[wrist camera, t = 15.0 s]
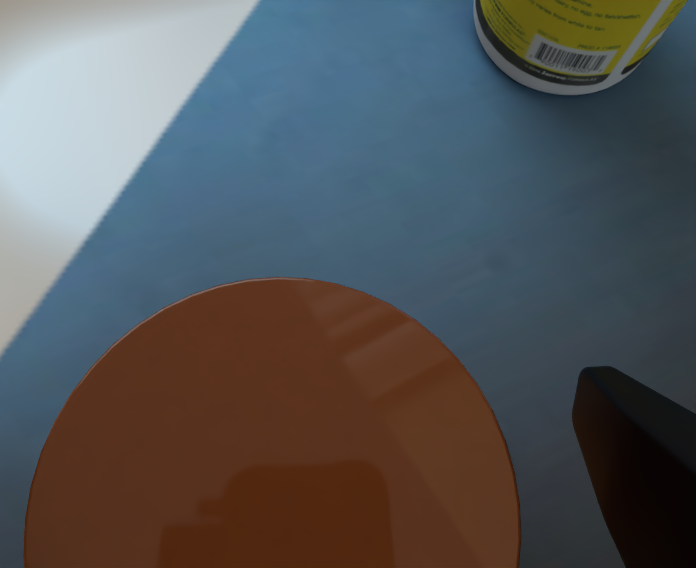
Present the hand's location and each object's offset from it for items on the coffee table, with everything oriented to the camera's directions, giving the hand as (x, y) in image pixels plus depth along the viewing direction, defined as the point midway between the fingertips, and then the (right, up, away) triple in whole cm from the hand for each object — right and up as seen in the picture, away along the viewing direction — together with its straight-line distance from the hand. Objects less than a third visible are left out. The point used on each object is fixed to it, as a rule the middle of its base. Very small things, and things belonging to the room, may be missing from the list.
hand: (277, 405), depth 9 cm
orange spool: (0, -4, +8) cm, 9 cm away
